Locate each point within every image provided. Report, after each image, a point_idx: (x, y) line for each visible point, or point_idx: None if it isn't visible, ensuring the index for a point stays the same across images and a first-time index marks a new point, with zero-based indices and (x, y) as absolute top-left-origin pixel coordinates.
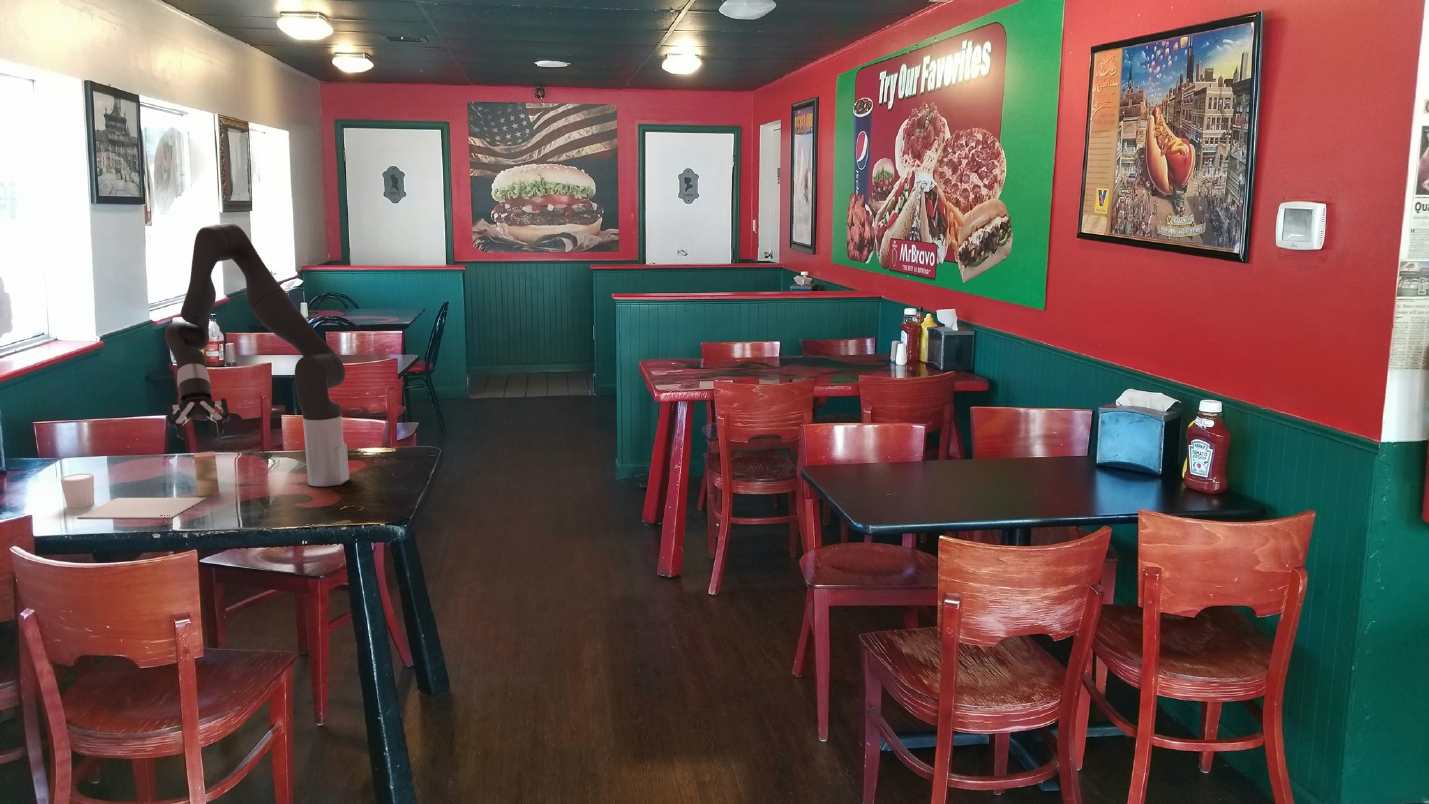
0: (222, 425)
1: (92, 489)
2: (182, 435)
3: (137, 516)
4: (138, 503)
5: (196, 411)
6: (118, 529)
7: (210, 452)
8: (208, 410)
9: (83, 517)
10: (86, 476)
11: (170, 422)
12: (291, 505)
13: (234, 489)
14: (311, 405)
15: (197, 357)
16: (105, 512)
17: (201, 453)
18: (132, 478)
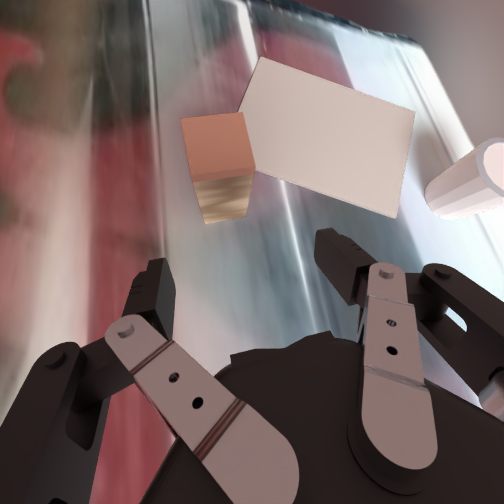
0: (130, 295)
1: (449, 177)
2: (323, 230)
3: (318, 80)
4: (341, 161)
5: (306, 369)
6: (328, 35)
7: (200, 160)
8: (196, 365)
9: (404, 108)
10: (490, 168)
11: (428, 267)
12: (52, 56)
13: (168, 215)
14: None
15: None
16: (379, 123)
17: (229, 156)
18: None
